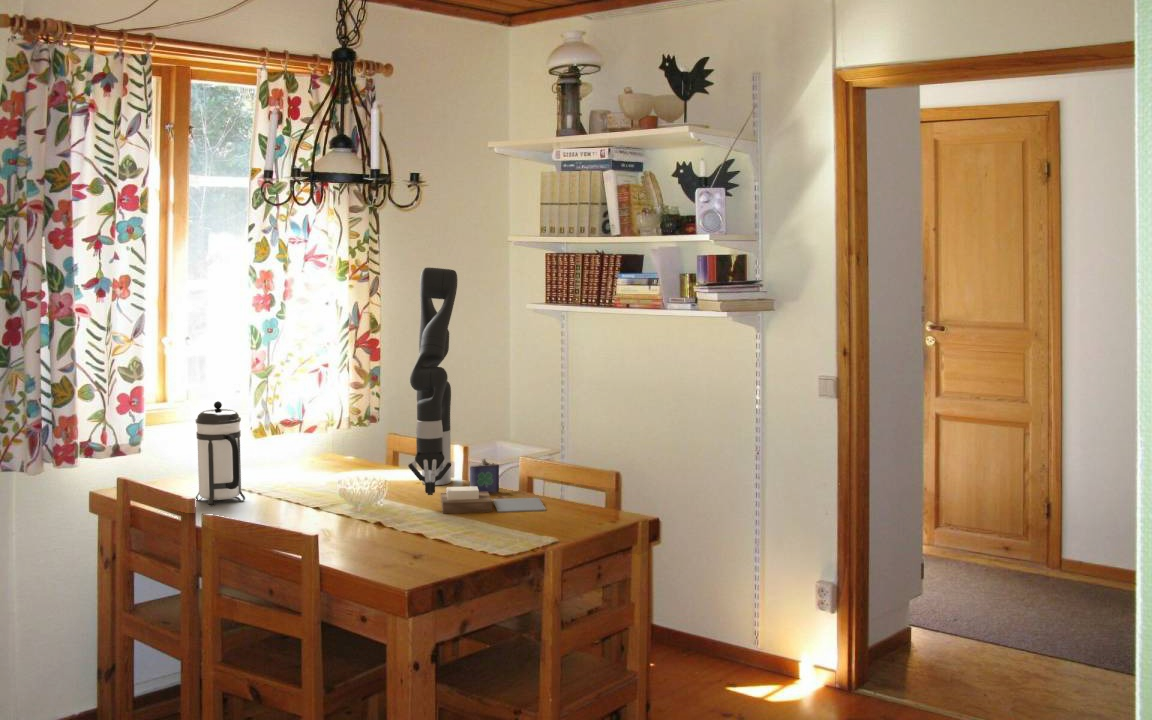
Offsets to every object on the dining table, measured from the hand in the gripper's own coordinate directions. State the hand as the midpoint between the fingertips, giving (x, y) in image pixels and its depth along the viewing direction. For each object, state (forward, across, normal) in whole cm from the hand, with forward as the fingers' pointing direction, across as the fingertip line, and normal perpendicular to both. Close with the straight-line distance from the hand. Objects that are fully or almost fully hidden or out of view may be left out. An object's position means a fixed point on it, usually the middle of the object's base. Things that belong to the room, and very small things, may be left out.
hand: (430, 494), depth 319 cm
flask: (+4, -18, -19) cm, 26 cm away
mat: (+4, -26, 0) cm, 26 cm away
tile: (0, -9, 0) cm, 9 cm away
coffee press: (+4, +60, -19) cm, 64 cm away
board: (+4, -10, 0) cm, 11 cm away
